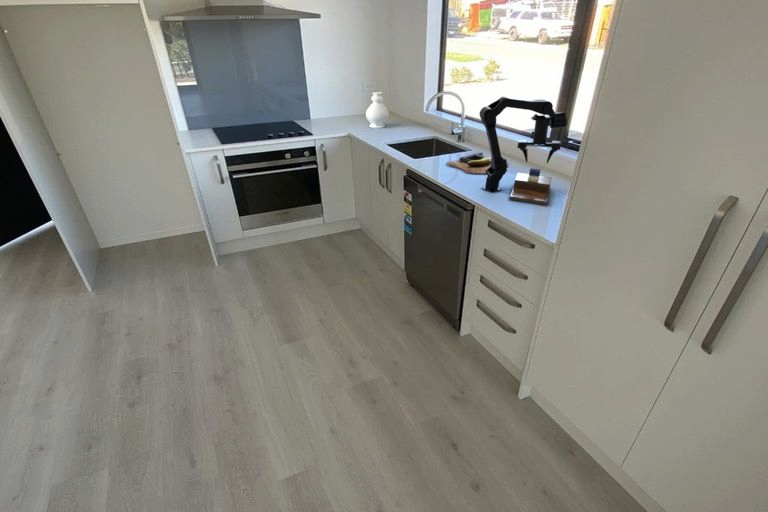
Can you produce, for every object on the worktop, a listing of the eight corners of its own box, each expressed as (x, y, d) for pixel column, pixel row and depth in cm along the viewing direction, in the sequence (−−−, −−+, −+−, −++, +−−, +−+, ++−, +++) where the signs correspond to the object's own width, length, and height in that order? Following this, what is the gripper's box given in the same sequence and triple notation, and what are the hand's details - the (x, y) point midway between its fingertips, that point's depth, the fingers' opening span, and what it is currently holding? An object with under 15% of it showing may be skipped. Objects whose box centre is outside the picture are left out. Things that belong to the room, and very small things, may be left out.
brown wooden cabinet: (545, 205, 177) (548, 193, 174) (509, 200, 182) (511, 187, 179) (548, 188, 196) (551, 177, 193) (515, 184, 201) (517, 172, 198)
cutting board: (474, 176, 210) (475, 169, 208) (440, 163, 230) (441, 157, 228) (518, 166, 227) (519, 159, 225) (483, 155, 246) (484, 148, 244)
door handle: (500, 157, 233) (478, 150, 243) (479, 164, 222) (457, 156, 232) (498, 163, 235) (477, 155, 245) (478, 170, 224) (456, 161, 233)
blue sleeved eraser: (537, 181, 186) (539, 173, 184) (527, 180, 188) (529, 172, 186) (539, 176, 194) (540, 168, 192) (529, 175, 195) (531, 167, 193)
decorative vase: (377, 129, 304) (377, 95, 292) (361, 126, 314) (360, 92, 302) (392, 126, 316) (393, 92, 303) (376, 123, 326) (376, 90, 313)
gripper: (563, 125, 184) (558, 158, 191) (521, 124, 190) (518, 156, 198) (562, 131, 175) (557, 165, 183) (518, 130, 182) (515, 163, 190)
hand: (536, 162), depth 189 cm, fingers open, 9 cm apart
